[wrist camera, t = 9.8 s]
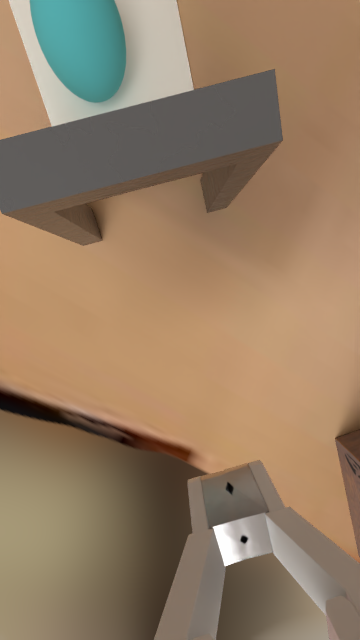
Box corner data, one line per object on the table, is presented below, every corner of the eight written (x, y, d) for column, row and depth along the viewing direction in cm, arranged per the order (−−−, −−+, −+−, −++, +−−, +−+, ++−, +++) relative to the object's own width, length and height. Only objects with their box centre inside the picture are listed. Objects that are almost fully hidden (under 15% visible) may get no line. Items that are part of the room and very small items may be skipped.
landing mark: (156, -100, 14) (156, -105, 14) (196, 104, 17) (196, 102, 17) (-11, -58, 14) (-14, -63, 14) (57, 140, 17) (56, 139, 17)
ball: (133, 25, 11) (143, 106, 17) (82, -127, 10) (112, 19, 16) (43, 66, 12) (82, 132, 17) (-23, -79, 10) (45, 48, 16)
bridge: (71, 214, 19) (-27, 146, 9) (220, 175, 19) (274, 68, 9) (83, 245, 19) (2, 213, 10) (226, 207, 19) (282, 140, 10)
